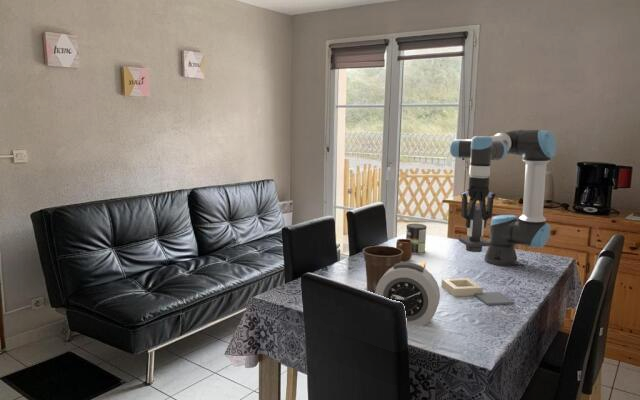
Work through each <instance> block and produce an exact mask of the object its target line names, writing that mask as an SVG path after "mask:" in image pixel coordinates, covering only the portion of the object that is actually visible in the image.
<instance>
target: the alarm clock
mask: <svg viewBox="0 0 640 400" xmlns="http://www.w3.org/2000/svg"><path fill="white" fill-rule="evenodd" d="M440 293H441V292H440V286H439V284H438V282H437V280H436V279H435V277H434V276H433V274H432V273H431V272H429V271H428V270H427V269H426V268H425V269H424V268H423V267H422V266H420V264H417V263H414V262H408V261H403V262H400V263H397V264H395V265H394V267H392V268H390V269H389V270H388V271H387V272H386V273H385V274H384V275H383V277H382V278H381V279H380V280H379V282H378V284H377V286H376V290H375V292H374V295H375V294H378V295H381V296H384V297H386V298H389V299H392V300H396V301H400V302H402V303H403V304H404V306H405V311H406V318H407V323H406V324H409V325H410V324H411V325H415V326H416V325H417V326H421V325H422V326H423V327H424V326H426V325H427V324H428V323H430V321H431V320H432V319H433V318H434V316H435V315H436V312H437V309H438V307H439V304H440V299H441V294H440Z"/></svg>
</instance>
